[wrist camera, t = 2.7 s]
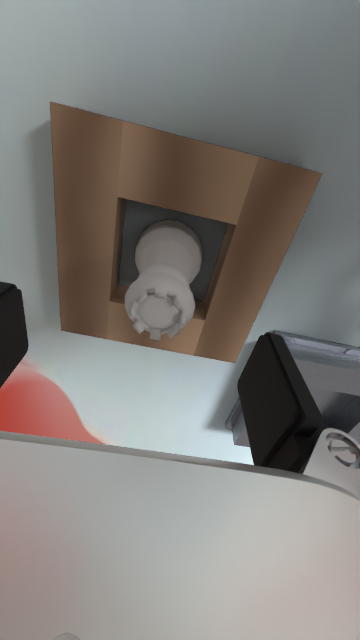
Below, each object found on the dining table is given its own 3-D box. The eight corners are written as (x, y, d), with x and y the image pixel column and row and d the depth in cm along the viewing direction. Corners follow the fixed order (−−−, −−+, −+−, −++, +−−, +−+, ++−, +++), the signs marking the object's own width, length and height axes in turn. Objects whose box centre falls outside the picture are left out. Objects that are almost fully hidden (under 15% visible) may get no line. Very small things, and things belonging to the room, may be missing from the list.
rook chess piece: (147, 207, 16) (118, 252, 10) (213, 232, 17) (227, 291, 11) (129, 269, 19) (97, 340, 12) (188, 289, 20) (187, 366, 13)
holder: (418, 359, 23) (441, 381, 21) (336, 442, 30) (347, 465, 28) (274, 330, 21) (283, 351, 19) (225, 424, 29) (227, 446, 27)
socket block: (304, 168, 15) (322, 173, 13) (230, 342, 22) (234, 363, 20) (71, 106, 14) (50, 101, 12) (73, 311, 21) (61, 330, 19)
